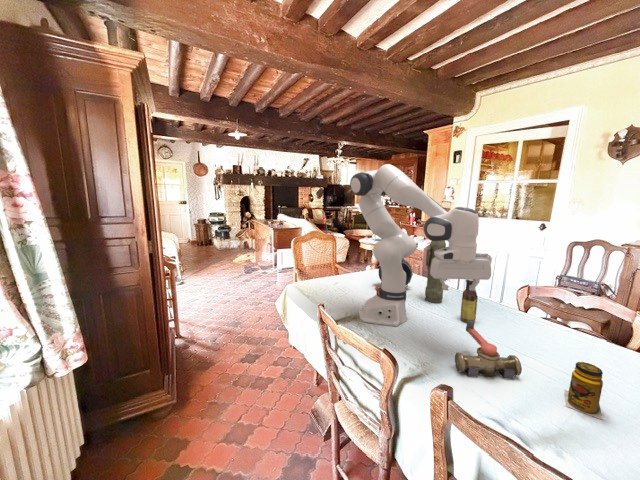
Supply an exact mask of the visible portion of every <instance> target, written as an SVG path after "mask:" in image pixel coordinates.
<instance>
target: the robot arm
mask: <svg viewBox="0 0 640 480" xmlns="http://www.w3.org/2000/svg"><path fill="white" fill-rule="evenodd" d="M349 182H350V183H349V187H350V190H351V191H352V193H353V194H354V195H355V196H358V197H359V199H358V206H359V210H360V211H361V214H362V216H363V219H364V221H365V222H366V224H367V225H368V227H369V230H370V231H371V232H372V234H374V236H377V237H378V238H379V239H380V240H379V241H377V242H376V243H375V244H374V245H373V248H372V253H373V257H374V258H375V260H376V261H377V262H378V263H379V267H381V272H382V280H380V281H381V284H380V286H378V285H376V286H375V287H374V291H375V292H376V294H375V295H373V296H372V297H370V298H367V299H366V301H365V304H364V305H363V307H362V308H360V309H359V311H358V316H359V319H360V320H361V321H362V322H363V323H367V324H368V323H369V324H376V325H383V326H391V327H398V326H399V325H400V324H404V323H406V322H407V321H408V317H407V313H406V312H407V311H406V301H407V288H406V286H407V285H406V273H405V271H404V270H403V268H402V259H404V260H405V259H407V258H409V257H410V256H412V255H413V254H414V253H415V252H416V250H417V243H416V241H415V239H414V238H413V237H411V236H410V235H408V234H407V233H406V232H405V231H403V229H402V228H401V227H400V226H399V225H398V224H397V223H396V222H395V221H394V219H393V218H392V216H391V214H390V213H389V212H388V210H387V208H386V207H385V204H384V203H383V201H382V198H381V197H384V196H387V197H388V198H390V200H392V201H393V202H395V203H397V204H398V205H402V206H408V207H412V208H415V209H418V210H421V211H422V212H423V213H424V214H425V215H426V216H428V219H426V221H425V222H424V224H423V233H424V235H425V237H426V238H427V239H428V240H429V241H445V242H448V246H446V247H445V248H442V249H439V250H436V251H435V252H434V255H435V256H436V257H434V258H433V260H432V263H431V268H430V274H431V276H432V277H433V278H435V279H440V281H441V283H442V284H443V286H442V289H443V291H449V285H448V284H446V282H447V280H466V279H473V281H474V282H473V283H472V285H469V290H470V291H475V290H476V287H477V286H478V285H479V284H480V281H481V280H484V281H486V280H487V281H488V280H490V279H491V277H492V259H493V258H492V256H491V255H490V254H488V253H479V252H477V249H478V248H477V247H478V244H477V237H478V236H479V219H480V218H479V215H478V213H479V212H477V210H475V209H474V208H469V207H463V206H456V207H453V208H452V209H451V210H449V211H448V210H447V209H445V208H444V207H443V206H442V205H440V203H438V202H437V201H436V200H435V199H434V198H432V197H431V196H430V195H428V194H427V193H426V192H425V191H424V190H423V189H422V188H420V186H418V185H417V184H416V183H415V182H414V181H413V180H412V179H411V178H410V177H409V176H408V175H406V174H405V172H403V171H402V170H400V169H399V168H398V167H396V166H395V165H392V164H390V163H385V164H383V165H382V166H380V167H379V168H378V169H372V170H367V171H364V172H358V173H356V174H353V175H352V177H351V179H350V181H349Z"/></svg>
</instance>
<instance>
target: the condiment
mask: <svg viewBox="0 0 640 480" xmlns="http://www.w3.org/2000/svg"><path fill="white" fill-rule="evenodd" d="M603 374H604V372H603V370H602V369H601V368H600V367H598V366H596V365H595V364H591V363H588V362H583V361H578V362H576V363H575V367H574V370H573V371H572V372H571V378H570V384H569V388H568V390H567V389H564V402H565V404H564V405H565V407H568V408H569V409H570V408H571V409H573V410H575V411H577V412H580V413H583V414H585V415H589V416H591V417H595V418H597V419H599V420H604V418H603V413H602V410H601V406H600V400H601V395H602V390H603V389H602V388H603V385H604V381H603Z"/></svg>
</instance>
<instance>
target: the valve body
mask: <svg viewBox="0 0 640 480" xmlns="http://www.w3.org/2000/svg"><path fill="white" fill-rule="evenodd" d="M476 354H477V355H468V354H467V355H465V354H463V353H462V352H460V351H459V352H458V351H457V352H455V355H454V363H455V368H456V369H457V372H458V373H464V374H466V376H467V377H468V378H478V377H479V375H481V376H482V377H486V378H491V379H492V378H495V377H497V376H496V375H497V373H498V374H499V375H500V377H502V378H503V380H514V379H515V376H520V375H521V374H522V370H523V368H522V364H521V361H520V359H519V358H518V357H517V356H516V355H514V354H513V355H512V354H510V355H507V357H505V356H504V357H501V355H500V353H499V352H498V351H497V353H496V355H495V356H490V355H486V354H484V353H482V352H481V346H480V347H478V348H477V349H476Z"/></svg>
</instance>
